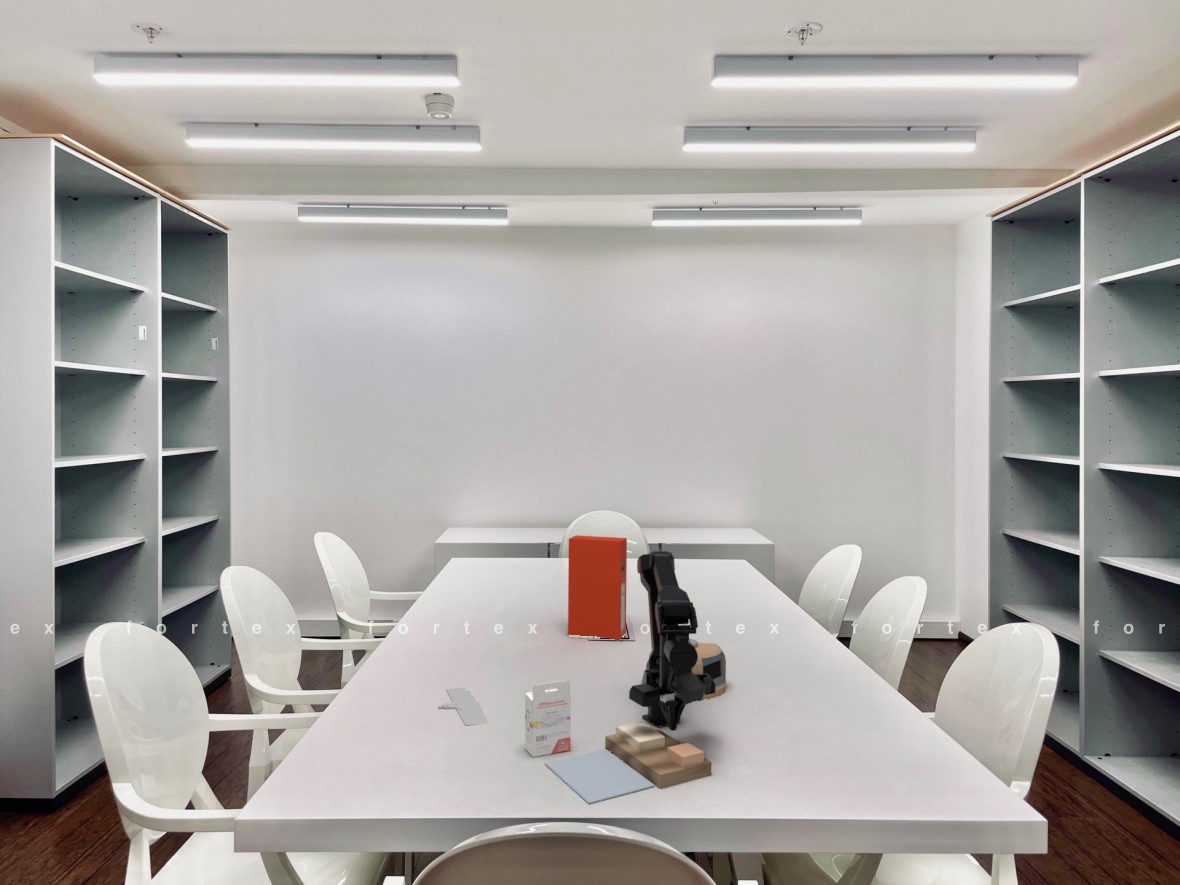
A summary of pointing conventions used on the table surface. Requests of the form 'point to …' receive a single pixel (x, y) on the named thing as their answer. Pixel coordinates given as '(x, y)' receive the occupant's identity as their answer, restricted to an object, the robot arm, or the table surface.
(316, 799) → the table surface
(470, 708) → the grey flat piece
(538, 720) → the ink cartridge box
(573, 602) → the file binder
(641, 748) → the birch tile
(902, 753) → the table surface
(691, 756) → the terracotta tile
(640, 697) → the robot arm
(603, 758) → the mat
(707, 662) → the alarm clock
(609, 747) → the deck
